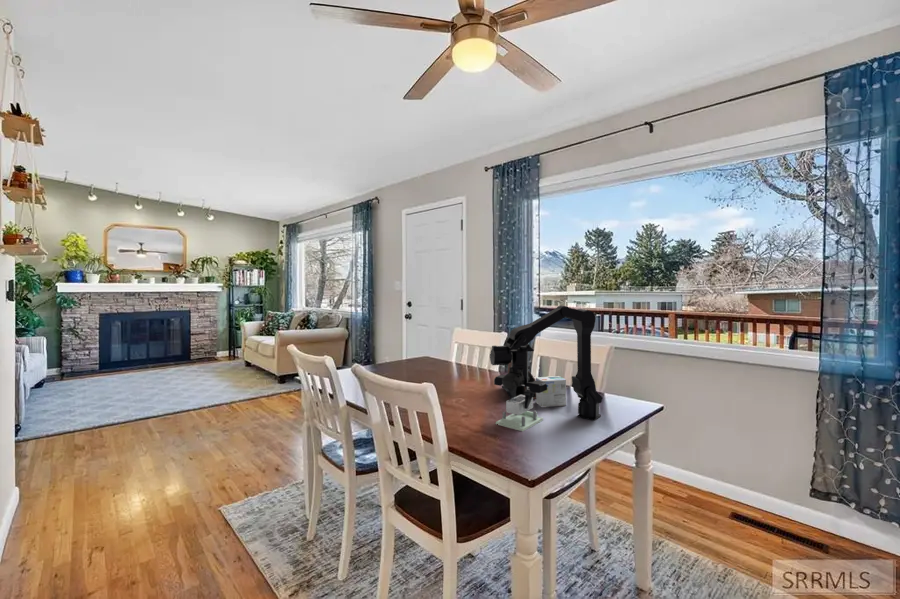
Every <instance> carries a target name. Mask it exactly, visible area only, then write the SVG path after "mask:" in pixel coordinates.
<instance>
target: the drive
mask: <svg viewBox="0 0 900 599" xmlns="http://www.w3.org/2000/svg"><path fill="white" fill-rule="evenodd" d="M505 403H506V405H505V408H506V409H505V410H506V411H505V412H506V413H509V414H516V415H520V414H522V413H524V412H526V411H530V410H532V409H533V408H534V400H533V397H532V399H531V402H530V404H529V406H528V408H527V409H525V395H519V396H517V397H514V398H512V399H510V398H509V399H508V400H506V401H505Z"/></svg>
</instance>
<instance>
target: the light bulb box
mask: <svg viewBox="0 0 900 599" xmlns="http://www.w3.org/2000/svg"><path fill="white" fill-rule="evenodd" d="M536 380H537V381H543V382H546V384H547V390H545V391H543V392H541V393H536V400H535V403H536V404H539V405H538V406H539V407H541V408H546V407H547V408H548V407H562V406H567V379H566V378H564V377H561V376H560V375H557V376H556V375H553V376H541V377H540V376H539V377H538V376H537V377H535V381H536Z"/></svg>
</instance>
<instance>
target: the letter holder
mask: <svg viewBox="0 0 900 599" xmlns="http://www.w3.org/2000/svg"><path fill="white" fill-rule="evenodd" d="M510 367H512V360H511V363H509V364H508V365H507V374H508V373H509V369H510ZM528 377H530V380H529V381H528V382H534V381H536V378H534V375H533V374H532V373H531V372H530V371H529V370H528ZM525 390H527V387H523V386H517V388H516V397H517V396H519V395H525V394H524V391H525ZM533 399H536V393H535V394H534V395H533Z"/></svg>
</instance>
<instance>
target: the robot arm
mask: <svg viewBox="0 0 900 599" xmlns="http://www.w3.org/2000/svg"><path fill="white" fill-rule="evenodd" d="M565 318H566V319H569V320H572V324H573V328H574V329H575V331H576V341H577V343H576V346H577V347H576V348H577V350H576V351H577V355H576V356H577V357H576V358H577V372H576V374H575V376H571V383H572V384H571V387H572V389H573V391H574V392H575V394H576V395H577V398H579V402H578V404H577V417H578V418H582V419H586V420H591V421H596V420H597V419H598V418H601V416H602V415H601V414H600V404H601V403H602V401H603V396H602V395H601V394H600V393H598V391H597V388H596V382H595V379H594V376H593V375H592V333H593V331H594V329H595V325H596V314H595V313H594V311H591V310H588V309H583V308H578V309H575V308H572V307H569V306H567V305H558V306H557V307H556V308H554V309H553V310H551V311H549V312H547V313H546V314H544V315H542V316H541V317H539V318H537V319H535V320H534V321H532V322H529V323H527V324H523V325H519V326H518V327H514V328H513V329H511V330H510V333H509V337H508V338H507V339H506V340H505V343H504V345H491V350H490V353H489V362H490V364H491V366H505V365H507V366H508V364H509V363H511V361H512V367H510V369H509V373H508V372H507V373H506V374H500V375H497V376H495V377H494V379H493V385H495V386H500V387H501V388H502V389H503V390H504V391H506V393H507V395H508V397H509V400H510V399H512V398H514V397H516V388H517V386H523V387H527V390H525V391H524V394H525V409H527V408H528V406H529V404H530V402H531V399H532V397H533V395H534V394H535V393H541V392H543V391H545V390H547V384H546V382H543V381H537V380H536V379H535V381H534V382H528V381H529V380H530V377H528V371H529V370H530V368H531V366H530V365H529V352H534V351H535V349H534V348H532V347H531V345H530V344H529V343H531V342H532V341H533V340H534V339H535V337H536V336H537V335H539V334H540V333H541V332H542V331H544V330H546V329H548V328H549V327H551V326H552V325H555V324H556V323H558V322H559V321H561V320H563V319H565Z"/></svg>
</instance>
